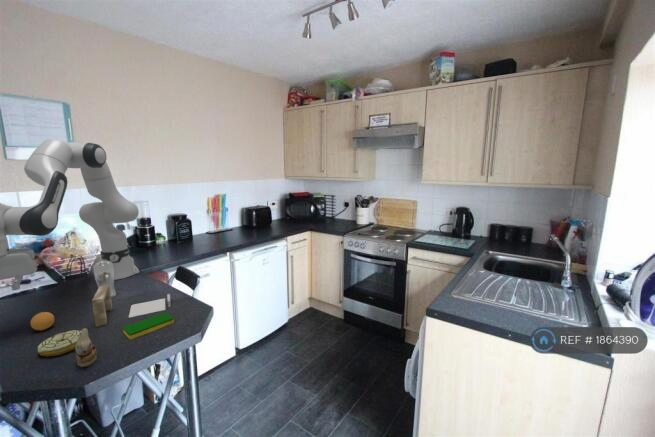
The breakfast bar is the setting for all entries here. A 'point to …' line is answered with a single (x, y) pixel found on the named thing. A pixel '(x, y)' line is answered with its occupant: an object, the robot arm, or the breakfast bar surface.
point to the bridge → (101, 305)
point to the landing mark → (147, 307)
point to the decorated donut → (59, 343)
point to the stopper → (169, 300)
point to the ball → (42, 321)
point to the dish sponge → (148, 325)
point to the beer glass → (105, 275)
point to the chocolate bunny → (85, 350)
